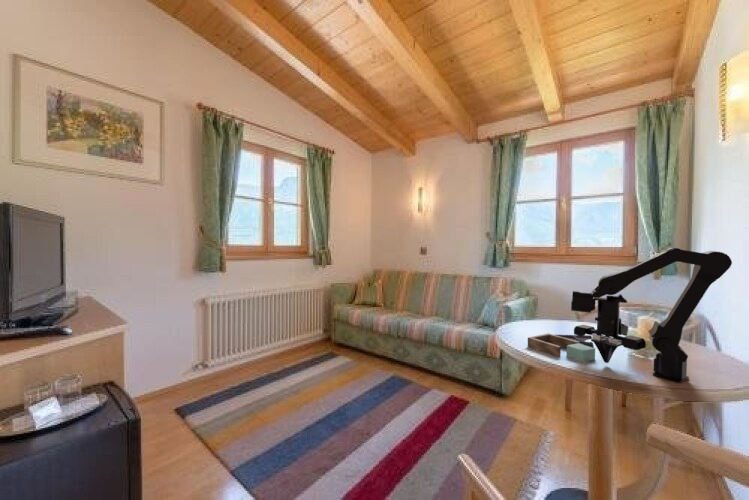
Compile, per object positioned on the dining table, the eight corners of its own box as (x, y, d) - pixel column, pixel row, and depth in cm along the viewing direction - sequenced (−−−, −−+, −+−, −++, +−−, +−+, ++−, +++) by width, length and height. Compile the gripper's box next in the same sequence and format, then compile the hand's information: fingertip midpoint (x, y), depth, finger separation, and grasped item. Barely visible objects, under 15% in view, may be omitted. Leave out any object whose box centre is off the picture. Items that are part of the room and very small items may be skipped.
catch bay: (579, 351, 121) (579, 341, 121) (558, 356, 115) (558, 346, 115) (548, 342, 132) (548, 333, 132) (527, 346, 126) (527, 337, 126)
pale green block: (594, 360, 113) (595, 348, 113) (583, 362, 110) (583, 350, 110) (578, 354, 118) (578, 343, 118) (566, 356, 116) (566, 345, 116)
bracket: (571, 349, 125) (572, 342, 124) (553, 338, 139) (554, 331, 139) (612, 351, 123) (612, 343, 123) (589, 339, 138) (589, 332, 138)
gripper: (655, 318, 102) (653, 368, 103) (591, 307, 118) (590, 350, 119) (637, 322, 97) (635, 375, 97) (573, 310, 113) (572, 355, 114)
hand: (606, 362), depth 107 cm, fingers closed
